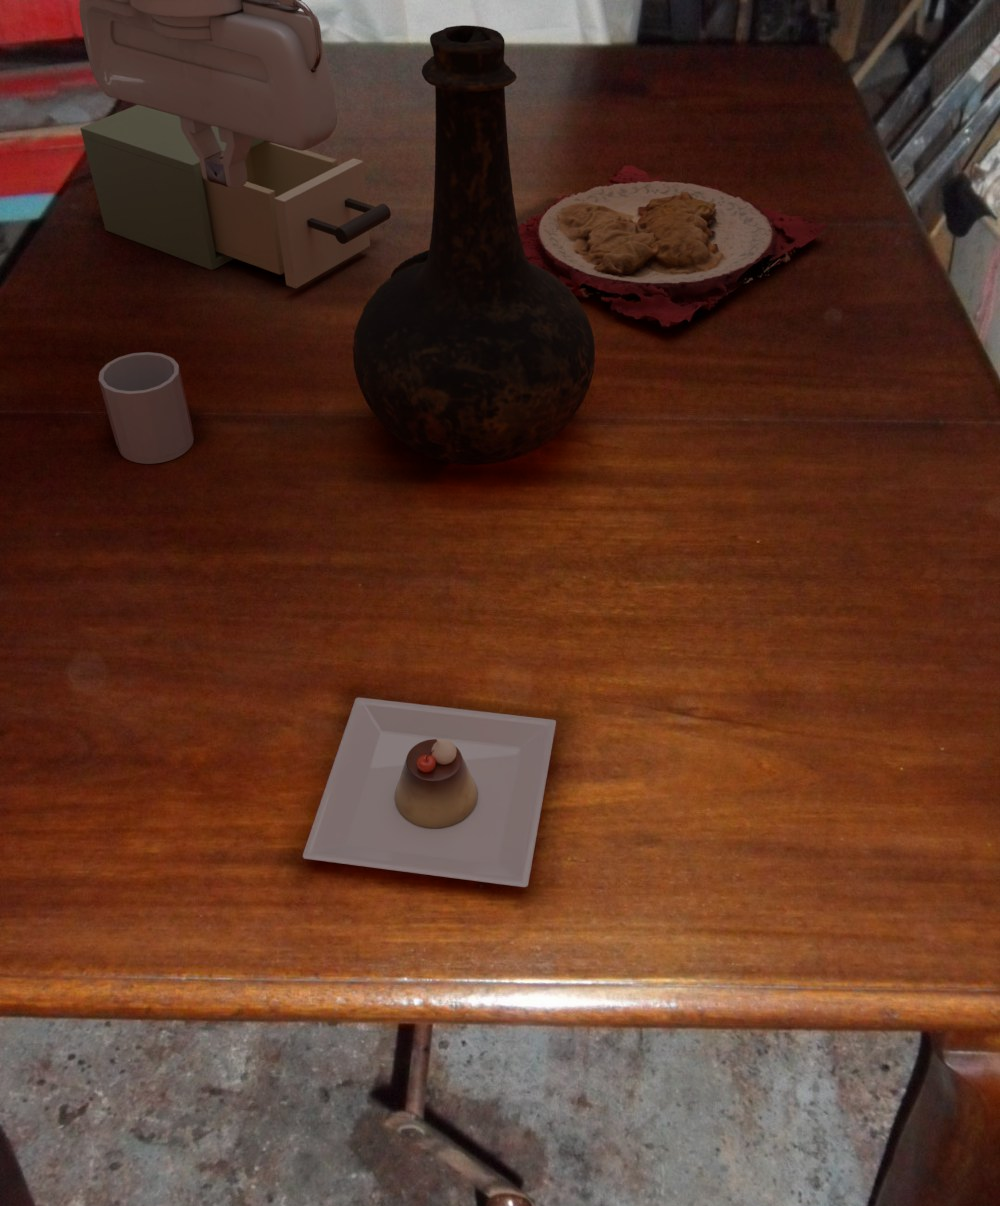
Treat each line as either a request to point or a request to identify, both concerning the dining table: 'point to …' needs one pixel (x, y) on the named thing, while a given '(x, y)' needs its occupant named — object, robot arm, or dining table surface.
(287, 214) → the drawer
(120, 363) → the tin
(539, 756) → the dessert
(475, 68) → the glass bottle
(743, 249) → the plate with food
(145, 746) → the dining table surface
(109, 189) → the cabinet
